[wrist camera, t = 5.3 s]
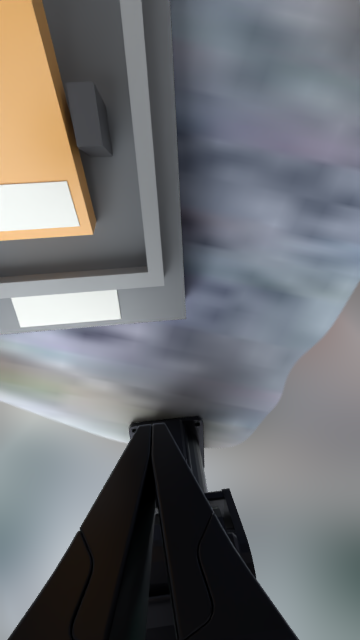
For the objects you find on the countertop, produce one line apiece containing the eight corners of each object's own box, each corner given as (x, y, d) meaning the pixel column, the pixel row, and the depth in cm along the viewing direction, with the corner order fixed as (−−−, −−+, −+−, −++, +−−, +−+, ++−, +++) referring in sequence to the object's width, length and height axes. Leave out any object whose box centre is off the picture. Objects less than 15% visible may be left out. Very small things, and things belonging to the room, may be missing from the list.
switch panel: (181, 302, 20) (191, 339, 15) (-17, 318, 19) (-83, 364, 14) (157, -131, 12) (159, -404, 6) (-189, -134, 11) (-509, -447, 6)
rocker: (96, 222, 14) (92, 235, 13) (-1, 228, 14) (-13, 242, 13) (24, -71, 8) (6, -89, 7) (-155, -70, 8) (-201, -90, 7)
